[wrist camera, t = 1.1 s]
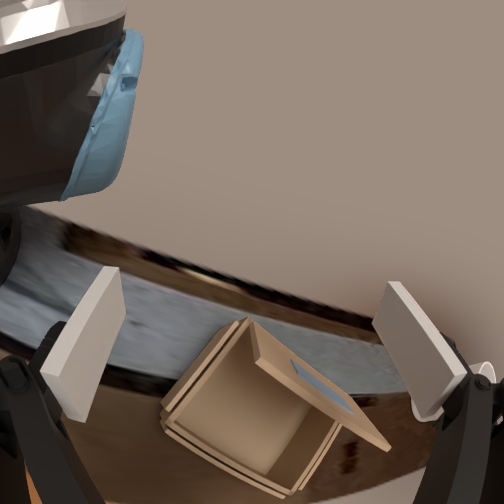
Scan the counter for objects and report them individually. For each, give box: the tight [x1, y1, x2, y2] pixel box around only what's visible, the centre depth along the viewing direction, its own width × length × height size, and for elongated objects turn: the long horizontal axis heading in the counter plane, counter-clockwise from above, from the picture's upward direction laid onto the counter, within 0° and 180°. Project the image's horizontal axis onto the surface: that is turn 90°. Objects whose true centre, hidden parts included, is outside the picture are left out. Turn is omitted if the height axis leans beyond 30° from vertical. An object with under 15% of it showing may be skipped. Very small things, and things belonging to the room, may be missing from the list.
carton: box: [159, 316, 352, 499], centre depth 25 cm, size 15×13×6 cm
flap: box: [249, 321, 392, 452], centre depth 21 cm, size 13×1×10 cm, turn 53°
